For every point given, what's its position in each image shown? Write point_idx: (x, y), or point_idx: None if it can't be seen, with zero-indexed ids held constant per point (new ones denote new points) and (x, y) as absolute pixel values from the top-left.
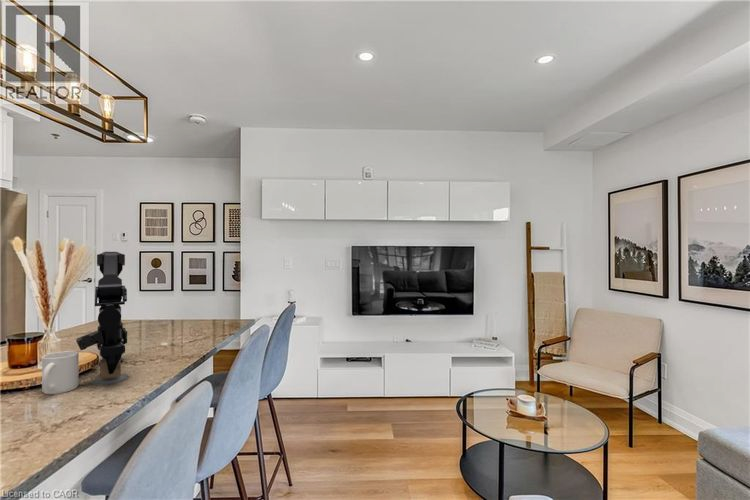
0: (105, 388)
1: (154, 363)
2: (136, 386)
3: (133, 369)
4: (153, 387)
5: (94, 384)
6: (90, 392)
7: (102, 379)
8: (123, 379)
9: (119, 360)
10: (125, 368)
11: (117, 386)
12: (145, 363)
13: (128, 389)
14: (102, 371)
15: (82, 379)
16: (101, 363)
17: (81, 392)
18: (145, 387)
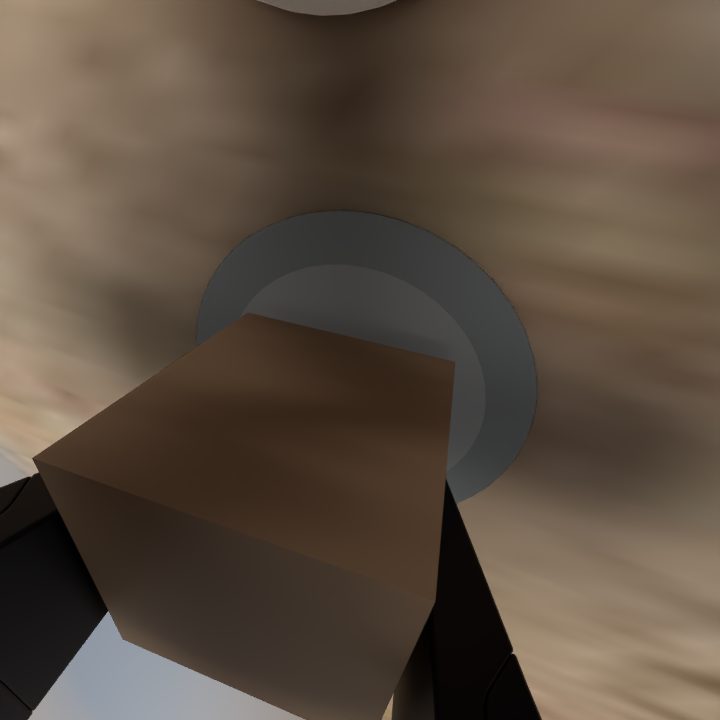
0: (97, 276)
1: (546, 702)
2: (67, 424)
3: (523, 599)
4: (23, 459)
5: (261, 230)
6: (24, 134)
7: (394, 344)
8: None
9: (125, 628)
10: (643, 601)
11: (112, 356)
12: (624, 700)
13: (23, 374)
14: (181, 371)
15: (712, 151)
16: (49, 454)
17: (49, 39)
18: (34, 440)
